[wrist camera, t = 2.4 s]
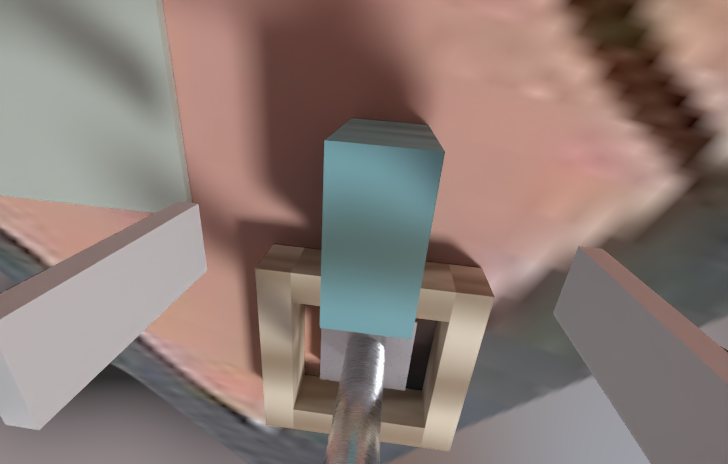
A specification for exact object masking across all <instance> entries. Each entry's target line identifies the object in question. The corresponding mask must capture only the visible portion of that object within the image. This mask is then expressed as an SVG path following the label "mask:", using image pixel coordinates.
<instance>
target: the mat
mask: <svg viewBox="0 0 728 464" xmlns="http://www.w3.org/2000/svg"><path fill="white" fill-rule="evenodd" d="M0 196H7V197H16V198H25V199H34V200H43V201H52V202H61V203H70V204H79V205H88V206H97V207H106V208H115V209H124V210H133V211H142V212H151V213H156V212H158V211H160V210H162V209H164V208H166V207H168V206H170V205H172V204H174V203H175V202H177V201H180V202H189V203H192V197H191V190H190V184H189V177H188V170H187V163H186V157H185V150H184V143H183V137H182V130H181V123H180V117H179V110H178V103H177V97H176V90H175V83H174V76H173V70H172V63H171V56H170V50H169V43H168V36H167V30H166V23H165V16H164V9H163V3H162V0H0Z"/></svg>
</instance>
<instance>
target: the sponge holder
mask: <svg viewBox="0 0 728 464" xmlns="http://www.w3.org/2000/svg"><path fill="white" fill-rule="evenodd" d="M444 154H445V151H444V150H443V148H442V146H441V145H440V143H439V141H438V140H437V138H436V136H435V135H434V133H433V132H432V130H431V128H430V127H429V125H423V124H412V123H401V122H390V121H379V120H368V119H357V118H351V119H350V120H349V121H347V122H346V123H345V124H344V125H343V126H341V127H340V128H339V129H338V130H336V131H335V132H334V133H333V134H331V135H330V136H329V137H328V138H326V139H325V140H324V174H323V213H322V250H320V249H311V248H302V247H294V246H285V245H276V244H273V246H272V247H271V248H270V250H269V251H268V252H267V253H266V255H265V256H264V257H263V259H262V260H261V261H260V263H259V264H258V265H257V267H256V268H255V276H256V290H257V304H258V318H259V332H260V346H261V360H262V374H263V388H264V402H265V416H266V425H272V426H279V427H286V428H293V429H300V430H306V431H313V432H320V433H327V434H329V433H330V428H331V423H332V418H333V413H334V407H335V402H336V397H337V392H338V387H339V382H338V381H331V380H323V379H320V377H319V376H312V375H305V304H307V305H315V306H320V328H325V329H333V330H341V331H349V332H357V333H364V334H372V335H380V336H388V337H396V338H403V339H411V340H412V335H413V329H414V323H415V318H419V319H427V320H435V321H437V323H436V328H435V332H434V337H433V342H432V346H431V351H430V356H429V361H428V365H427V370H426V375H425V379H424V384H423V389H422V391H421V390H414V389H407V388H405V391H404V390H396V389H389V388H383V402H382V420H381V438H380V441H382V442H388V443H395V444H402V445H409V446H416V447H423V448H429V449H437V450H444V451H450V448H451V444H452V441H453V437H454V434H455V430H456V427H457V424H458V420H459V417H460V413H461V410H462V406H463V403H464V400H465V396H466V393H467V389H468V386H469V383H470V379H471V376H472V372H473V369H474V365H475V362H476V359H477V355H478V352H479V348H480V345H481V342H482V338H483V335H484V331H485V328H486V324H487V321H488V318H489V314H490V311H491V307H492V304H493V300H494V295H493V293H492V290H491V288H490V286H489V283H488V281H487V279H486V276H485V274H484V272H483V269H482V268H477V267H468V266H459V265H451V264H442V263H433V262H425V261H426V255H427V250H428V244H429V238H430V233H431V227H432V222H433V216H434V210H435V205H436V199H437V193H438V188H439V182H440V176H441V171H442V165H443V159H444Z"/></svg>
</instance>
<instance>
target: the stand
mask: <svg viewBox="0 0 728 464" xmlns="http://www.w3.org/2000/svg"><path fill="white" fill-rule="evenodd" d="M416 327H417V318H415V323H414V329H413V335H412V340H411V339H403V338H396V337H388V336H380V335H372V334H364V333H357V332H349V331H341V330H333V329H325V328H321V359H320V379H323V380H331V381H338V382H339V387H338V392H337V397H336V402H335V407H334V413H333V418H332V423H331V428H330V433H329V438H328V443H327V448H326V453H325V458H324V463H323V464H379V457H380V438H381V420H382V402H383V388H389V389H396V390H404V391H405V388H406V382H407V377H408V371H409V366H410V360H411V355H412V349H413V344H414V338H415V333H416Z"/></svg>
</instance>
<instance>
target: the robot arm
mask: <svg viewBox="0 0 728 464" xmlns="http://www.w3.org/2000/svg"><path fill="white" fill-rule="evenodd" d="M206 271H207V265H206V257H205V250H204V242H203V235H202V227H201V220H200V212H199V205H198V203H189V202H180V201H177V202H175V203H174V204H172V205H170V206H168V207H166V208H164V209H162V210H160V211H158V212H156V213H154V214H152V215H150V216H149V217H147V218H145V219H143V220H141V221H139V222H137V223H135V224H133V225H131V226H129V227H127V228H125V229H124V230H122V231H120V232H118V233H116V234H114V235H112V236H110V237H108V238H106V239H104V240H102V241H100V242H99V243H97V244H95V245H93V246H91V247H89V248H87V249H85V250H83V251H81V252H79V253H77V254H76V255H74V256H72V257H70V258H68V259H66V260H64V261H62V262H60V263H58V264H56V265H54V266H52V267H51V268H49V269H46V270H44V271H42V272H40V273H38V274H36V275H34V276H32V277H30V278H28V279H26V280H25V281H24V282H22V283H19V284H17V285H15V286H13V287H11V288H9V289H7V290H6V291H4V292H3V293H2V292H1V293H0V415H1V417H2V419H3V421H4V423H5V424H6V425H11V426H17V427H23V428H29V429H35V430H40V429H41V428H42V427H43V426H44V425H45V424H46V423H47V422H48V421H49V420H50V419H51V418H52V417H53V416H54V415H55V414H57V412H59V411H60V410H61V409H62V408H63V407H64V406H65V405H66V404H67V403H68V402H69V401H70V400H71V399H72V398H73V397H74V396H75V395H76V394H78V393H79V392H80V391H81V390H82V389H83V388H84V387H85V386H86V385H87V384H88V383H89V382H90V381H91V380H92V379H93V378H94V377H95V376H97V375H98V373H100V372H101V371H102V370H103V369H104V368H105V367H106V366H107V365H108V364H109V363H110V362H111V361H112V360H113V359H114V358H115V357H117V356H118V355H119V354H120V353H121V352H122V351H123V350H124V349H125V348H126V347H127V346H128V345H129V344H130V343H131V342H132V341H133V340H134V339H135V338H136V337H138V336H139V335H140V334H141V333H142V332H143V331H144V330H145V329H146V328H147V327H148V326H149V325H150V324H151V323H152V322H153V321H154V320H155V319H156V318H158V317H159V316H160V315H161V314H162V313H163V312H164V311H165V310H166V309H167V308H168V307H169V306H170V305H171V304H172V303H173V302H174V301H175V300H176V299H177V298H179V297H180V296H181V295H182V294H183V293H184V292H185V291H186V290H187V289H188V288H189V287H190V286H191V285H192V284H193V283H194V282H195V281H196V280H197V279H199V278H200V277H201V276H202V275H203V274H204V273H205V272H206ZM553 315H554V316H555V318H556V319H557V321H558V322H559V324H560V325H561V327H562V328H563V330H564V331H565V333H566V335H567V336H568V338H569V339H570V341H571V342H572V344H573V345H574V347H575V348H576V350H577V351H578V353H579V354H580V356H581V357H582V359H583V361H584V362H585V364H586V365H587V367H588V368H589V370H590V371H591V373H592V374H593V376H594V377H595V379H596V380H597V382H598V383H599V385H600V386H601V388H602V390H603V391H604V393H605V394H606V396H607V397H608V399H609V400H610V402H611V403H612V405H613V406H614V408H615V409H616V411H617V413H618V414H619V416H620V417H621V419H622V420H623V422H624V423H625V425H626V426H627V428H628V429H629V431H630V432H631V434H632V435H633V437H634V438H635V440H636V442H637V443H638V445H639V446H640V448H641V449H642V451H643V452H644V454H645V455H646V457H647V458H648V460H649V461H650V463H651V464H728V350H726V349H724V348H723V347H721V346H719V345H718V344H717V343H716V342H714V341H713V340H712V339H711V338H710V337H708V336H707V335H706V334H705V333H704V332H702V331H701V330H700V329H699V328H698V327H696V326H695V325H694V324H693V323H692V322H690V321H689V320H688V319H687V318H685V317H684V316H683V315H682V314H681V313H679V312H678V311H677V310H676V309H675V308H673V307H672V306H671V305H670V304H669V303H667V302H666V301H665V300H664V299H662V298H661V297H660V296H659V295H658V294H656V293H655V292H654V291H653V290H652V289H650V288H649V287H648V286H647V285H646V284H644V283H643V282H642V281H641V280H639V279H638V278H637V277H636V276H635V275H633V274H632V273H631V272H630V271H629V270H627V269H626V268H625V267H624V266H623V265H621V264H620V263H619V262H618V261H616V260H615V259H614V258H613V257H612V256H610V255H609V254H608V253H607V252H606V251H604V250H603V249H598V248H589V247H580V246H579V247H578V249H577V252H576V254H575V257H574V260H573V262H572V265H571V268H570V270H569V273H568V275H567V278H566V281H565V283H564V286H563V289H562V291H561V294H560V296H559V299H558V302H557V304H556V307H555V309H554V312H553Z"/></svg>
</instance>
